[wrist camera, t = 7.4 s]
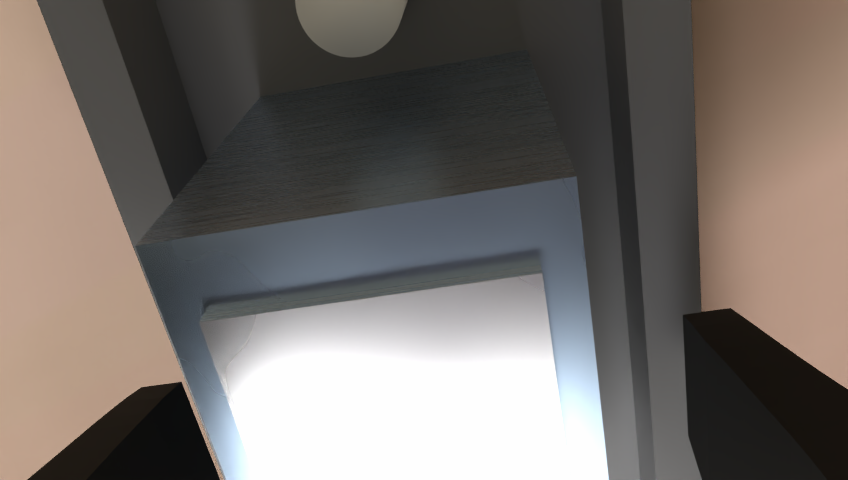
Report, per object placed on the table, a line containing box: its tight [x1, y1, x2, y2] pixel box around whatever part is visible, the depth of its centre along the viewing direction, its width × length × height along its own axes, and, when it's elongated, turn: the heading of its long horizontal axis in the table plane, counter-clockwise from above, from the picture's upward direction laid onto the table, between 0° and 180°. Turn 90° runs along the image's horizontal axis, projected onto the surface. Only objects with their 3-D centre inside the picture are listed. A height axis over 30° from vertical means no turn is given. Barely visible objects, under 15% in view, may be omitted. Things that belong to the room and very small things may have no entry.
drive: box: [135, 49, 609, 480], centre depth 11 cm, size 8×4×5 cm, turn 11°
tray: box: [37, 0, 702, 480], centre depth 12 cm, size 13×8×3 cm, turn 10°
